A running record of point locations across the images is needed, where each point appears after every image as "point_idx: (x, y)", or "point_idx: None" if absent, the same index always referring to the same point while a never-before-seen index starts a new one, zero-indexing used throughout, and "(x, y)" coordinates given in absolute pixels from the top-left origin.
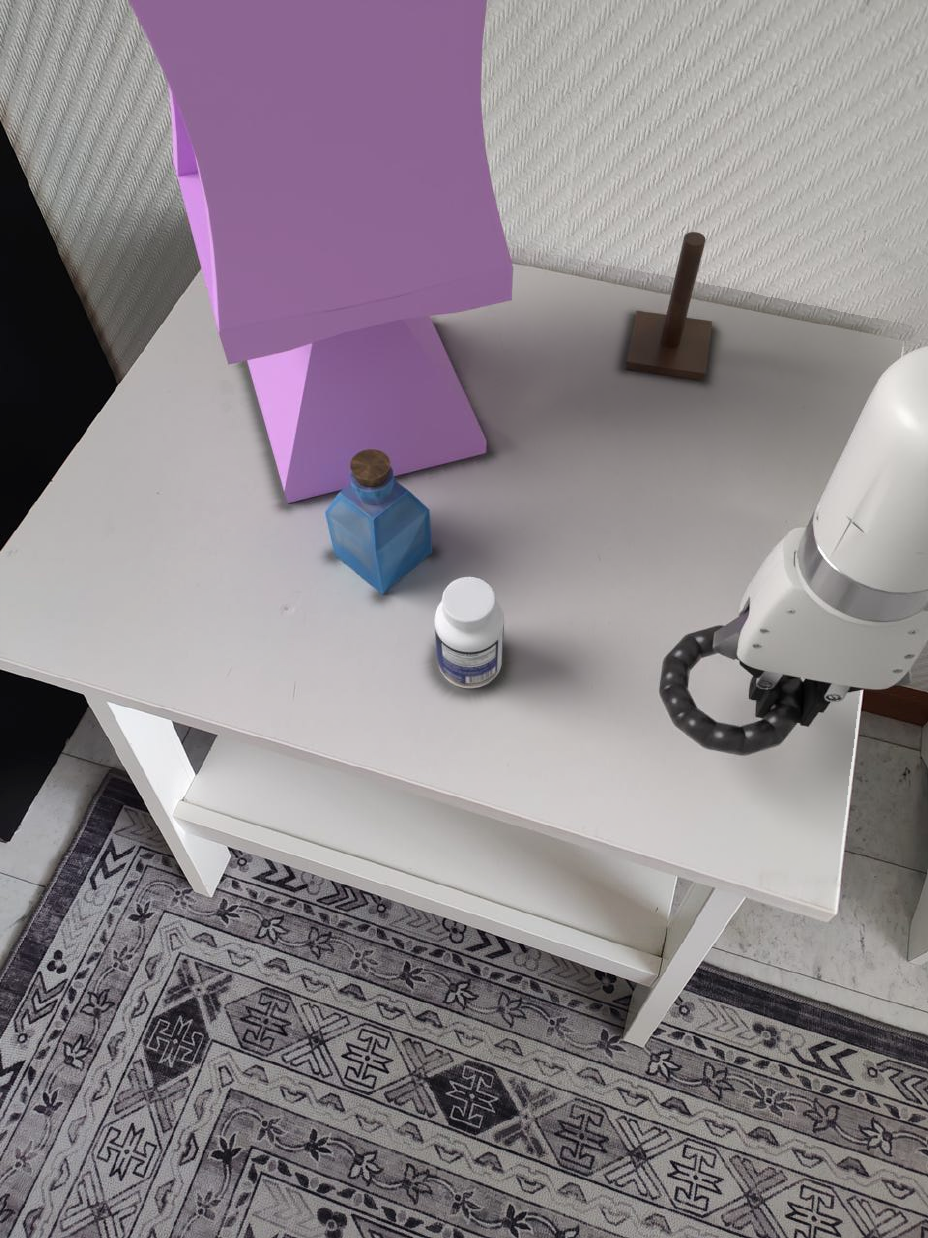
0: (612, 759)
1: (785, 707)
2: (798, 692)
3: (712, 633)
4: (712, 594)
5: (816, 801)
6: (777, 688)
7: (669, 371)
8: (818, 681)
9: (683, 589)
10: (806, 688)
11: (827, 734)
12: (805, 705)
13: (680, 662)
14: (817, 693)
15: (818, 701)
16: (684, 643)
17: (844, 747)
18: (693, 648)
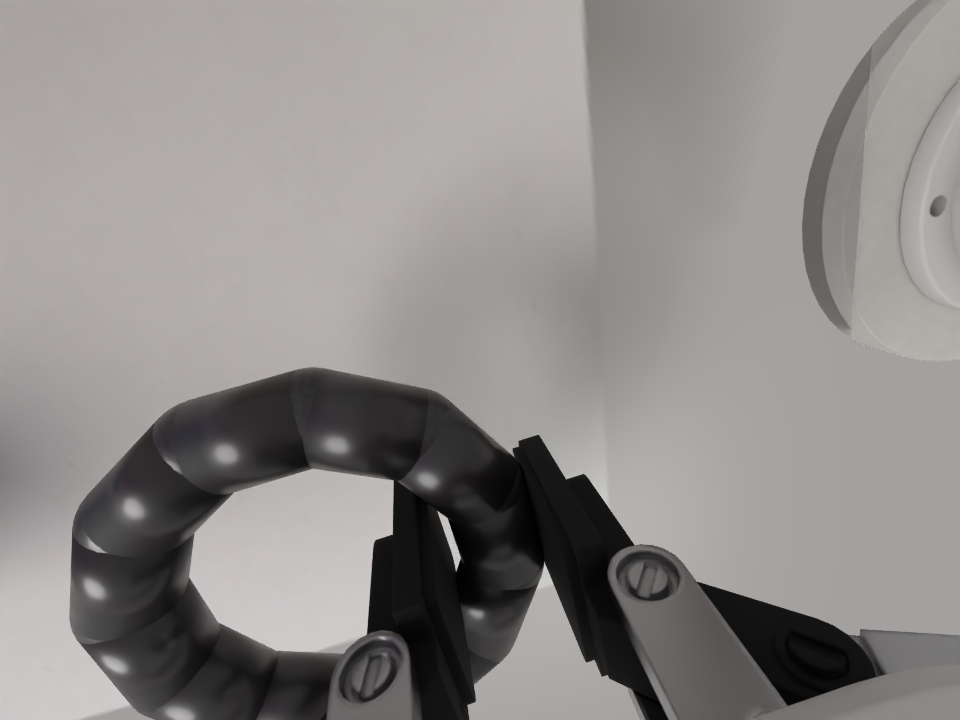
0: (218, 564)
1: (499, 602)
2: (521, 539)
3: (149, 504)
4: (174, 44)
5: (572, 446)
6: (463, 694)
7: None
8: (595, 630)
9: (82, 65)
10: (542, 528)
11: (565, 319)
12: (551, 571)
13: (120, 646)
14: (598, 654)
15: (606, 673)
16: (82, 580)
17: (599, 329)
18: (126, 582)
